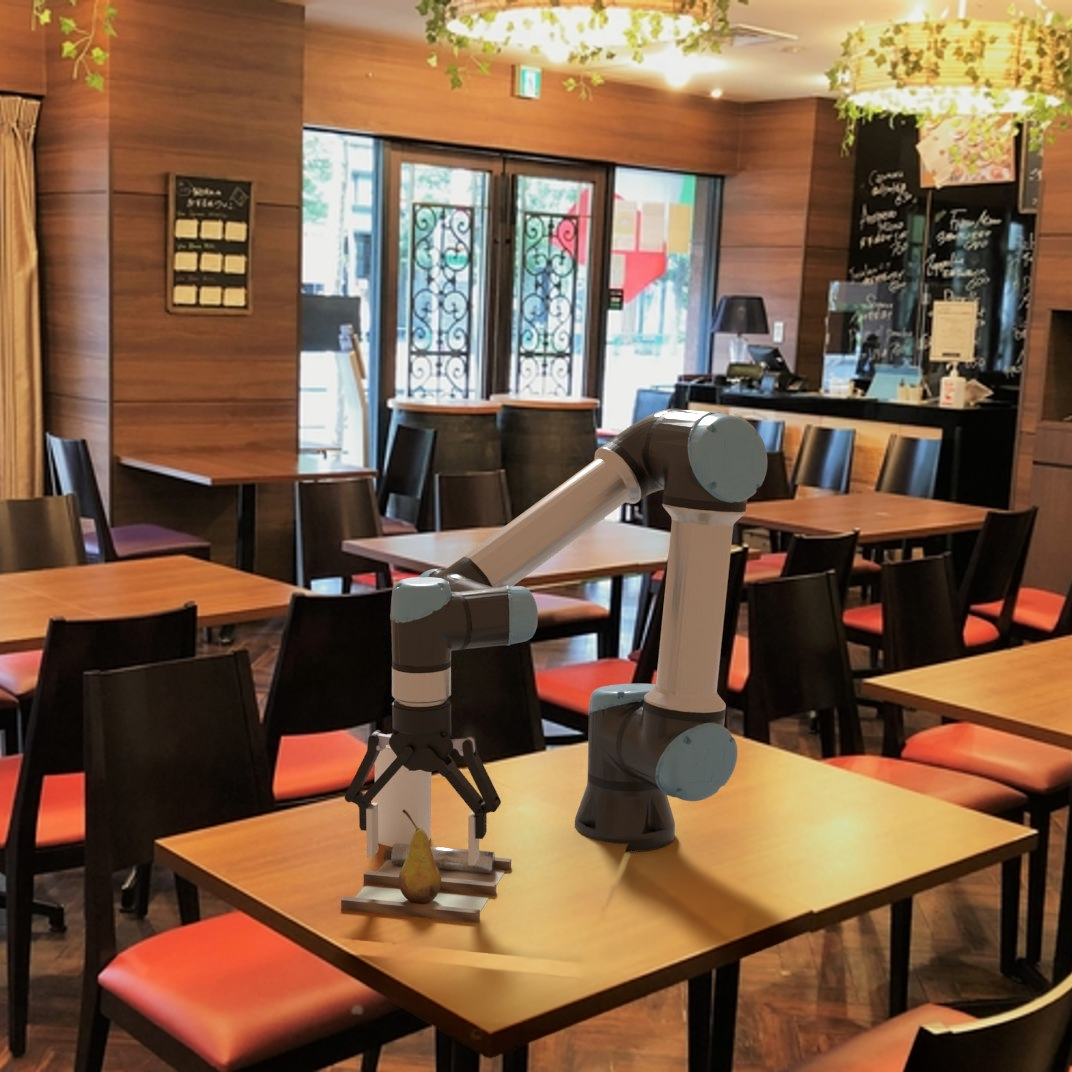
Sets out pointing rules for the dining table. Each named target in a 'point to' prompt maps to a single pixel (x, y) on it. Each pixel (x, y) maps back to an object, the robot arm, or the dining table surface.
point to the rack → (440, 906)
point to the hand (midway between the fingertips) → (422, 858)
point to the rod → (449, 858)
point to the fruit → (419, 870)
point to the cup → (402, 802)
